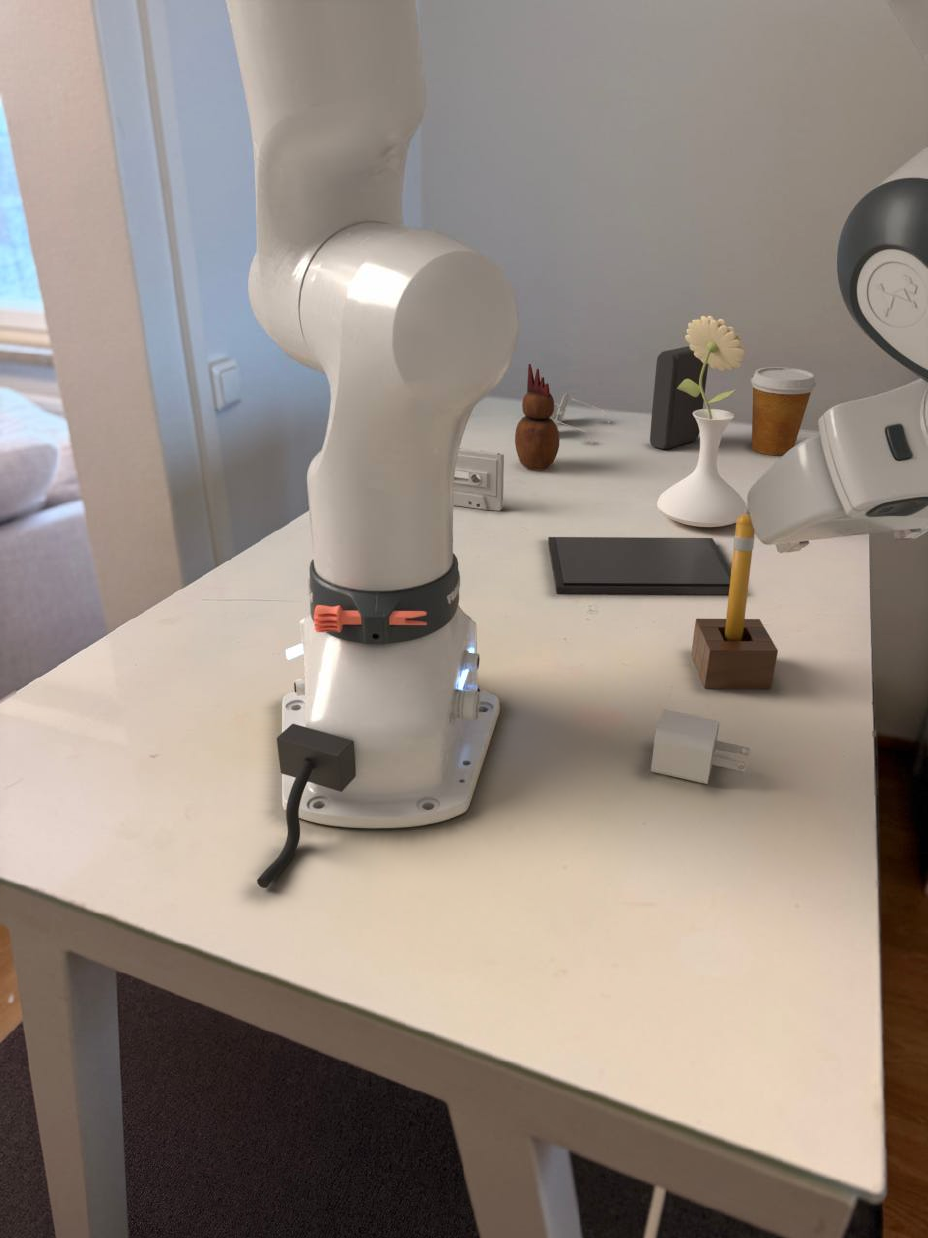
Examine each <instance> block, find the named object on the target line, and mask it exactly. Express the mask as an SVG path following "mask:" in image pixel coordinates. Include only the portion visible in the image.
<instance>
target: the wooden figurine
mask: <svg viewBox="0 0 928 1238" xmlns="http://www.w3.org/2000/svg"><path fill="white" fill-rule="evenodd" d="M521 405H522V406H521V407H522V409H521V410H522V413H523V415H524V416H522V417H521V419H520V420H519V421H518V422H517V425H516V428H515V433H514V441H515V442H514V443H515V444H514V445H515V450H516V454H517V457H518V460H519V462H520V464H521V465H522V466H523V467H524V468H527V469H529V470H533V471H541V470H542V471H543V470H546V469H549V468H550V467H551V466H552V465H553V464H554V461H555V460H556V458H557V455H558V452H559V449H560V440H561V439H560V432H559V428H558V426H557V424H556V422H555V421H553V420H552V419H550V417H551V416H552V414H553V412H554V405H555V399H554V396H552V394H551V391H550V384H549V383H548V382H546V383H545V377H544V376H542V377H541V375H540V368H536V370H535V376H534V371H533V368H532V363H528V367H527V385H526V393H525V395H524V396H523V399H522V403H521Z"/></svg>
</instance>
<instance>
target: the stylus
mask: <svg viewBox="0 0 928 1238" xmlns="http://www.w3.org/2000/svg"><path fill="white" fill-rule="evenodd" d="M754 544H755V531H754V528H753V525H752V522H751V518H750V514H749V513H746V514H745V515H742V516H740V517H739V518H738V519H737V522H736V523H735V532H734V536H733V544H732V545H733V546H732V547H733V549H732V550H733V551H732V559H731V568H730V570H731V578H730V588H729V595H728V598H727V607H726V608H727V609H726V617H725V619H726V626H725V636H724V641H742V638H743V629H744V620H745V619H746V611H747V603H748V602H747V601H748V592H749V585H750V576H751V567H752V557H753V550H754V546H755V545H754Z"/></svg>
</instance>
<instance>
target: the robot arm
mask: <svg viewBox="0 0 928 1238" xmlns="http://www.w3.org/2000/svg"><path fill="white" fill-rule="evenodd" d="M885 1H886V3H887V4H888V6H889V8H890V9H891V11H892V12H893V14H894V16H895V17H896V18H897V20H898V21H899V23H900V25H901V26H902V28H903V30H904V31H905V32H906V34H907V35H908V37H909V38H910V40H911V42H912V43H913V45H914V46H915V48H916V49H917V51H918V52H919V54H920V55H921V57H922V59H923V60H924V62H925V63H926V65H927V66H928V0H885ZM225 4H226V8H227V13H228V18H229V22H230V27H231V32H232V36H233V42H234V46H235V51H236V57H237V61H238V66H239V72H240V77H241V81H242V82H241V83H242V87H243V92H244V97H245V100H246V101H245V102H246V106H247V107H246V108H247V112H248V119H249V123H250V125H249V126H250V132H251V138H252V150H253V151H252V152H253V163H254V164H253V165H254V185H255V187H254V189H255V217H256V218H255V223H256V228H255V229H256V252H255V253H254V256H253V259H252V261H251V265H250V268H249V273H248V282H247V291H248V299H249V303H250V307H251V310H252V313H253V315H254V317H255V319H256V321H257V323H258V325H259V326H260V327H261V328H262V330H263V331H264V332H265V334H266V335H267V336H268V337H269V338H270V339H271V341H272V342H273V343H274V344H275V345H276V346H277V347H278V348H279V349H280V350H281V351H282V352H283V353H284V354H285V355H286V356H288V357H289V358H290V359H292V360H293V361H294V362H295V363H297V364H299V365H302V366H304V367H305V368H309V369H310V370H313V371H315V372H317V373H320V374H322V375H325V376H326V378H327V381H328V384H329V390H330V404H329V412H328V420H327V425H326V432H325V436H324V440H323V441H324V442H323V444H322V448H321V450H320V451H319V452H318V453H317V454H316V455H315V456H314V457H313V458H312V460H311V461H310V464H309V466H308V469H307V473H306V487H307V498H308V510H309V522H310V523H309V524H310V532H311V533H310V534H311V545H312V546H311V547H312V556H313V558H312V559H311V561H310V564H309V577H308V583H307V584H308V597H309V613H308V614H307V615H305V616H304V617H303V619H301V620H300V621H299V627H300V628H299V629H300V637H301V643H299V644H297V645H295V646H292V647H289V648H287V649H285V655H286V659H287V660H292V659H294V658H297V657H299V656H300V655H302V656H303V664H304V678H296V679H295V682H294V683H293V690H292V691H290V692H289V693H287V694H285V695H284V696H283V698H282V700H281V733H280V735H278V736H277V737H276V744H277V745H276V746H277V754H278V761H279V770H280V774H281V806H282V809H283V811H285V819H286V826H287V836H286V839H285V843H284V846H283V848H282V850H281V851H280V853H279V855H278V857H277V858H276V859H275V860H274V861H273V862H271V864H270V865H269V866H268V867H267V868H266V869H265V870H264V871H263V872H262V873H261V874H260V876H259V877H258V878H257V880H256V883H257V885H259V887H260V888H263V889H267V888H269V886H270V885H271V884H272V882H273V881H274V880H275V879H276V878H277V877H278V876H279V875H280V874H281V873H282V872H283V871H284V870H285V869H286V868H287V866H288V865H289V864H290V863H291V861H292V859H293V858H294V856H295V854H296V851H297V849H298V846H299V843H300V838H301V823H300V819H301V820H304V821H307V822H310V823H315V824H319V825H325V826H331V827H341V828H349V829H351V828H353V829H354V828H355V829H401V828H413V827H420V826H427V825H432V824H437V823H441V822H444V821H447V820H451V819H453V818H456V817H458V816H460V815H463V814H464V813H466V812H467V811H468V809H469V807H470V804H471V802H472V799H473V795H474V794H475V790H476V787H477V783H478V780H479V777H480V774H481V772H482V771H481V770H482V768H483V765H484V763H485V758H486V756H487V752H488V749H489V746H490V743H491V740H492V736H493V734H494V730H495V727H496V724H497V721H498V719H499V715H500V712H501V707H500V700H499V698H498V696H497V695H495V694H493V693H492V692H490V691H488V690H485V689H482V688H480V685H479V684H478V683H479V681H478V679H479V678H478V670H479V667H480V659H481V658H480V653H478V634H477V633H478V632H477V629H478V628H477V622H476V621H475V620H473V619H472V617H470V616H469V615H468V614H467V613H466V612H465V611H464V610H463V609H462V608H461V607H460V605H459V604H460V588H461V575H460V570H459V561H458V557H457V555H456V554H455V553H454V505H453V496H454V477H455V474H456V471H455V467H456V461H457V456H458V451H459V448H460V447H461V444H462V439H463V436H464V433H465V431H466V427H467V424H468V421H469V419H470V417H471V415H472V412H473V410H474V409H475V407H476V406H477V404H478V403H479V402H480V401H481V400H482V399H484V398H486V397H487V396H488V395H489V394H490V393H491V392H492V391H493V390H494V389H495V388H496V387H497V386H498V384H500V382H501V381H502V380H503V378H504V376H505V375H506V373H507V372H508V369H509V367H510V365H511V364H512V361H513V358H514V355H515V352H516V349H517V345H518V340H519V333H520V312H519V306H518V300H517V298H516V297H517V296H516V293H515V291H514V289H513V286H512V284H511V281H510V280H509V278H508V277H507V275H506V274H505V272H504V271H503V270H502V269H501V268H500V267H499V266H498V265H497V264H496V263H495V262H494V261H493V260H492V259H490V258H488V257H487V256H486V255H484V254H482V253H481V252H480V251H477V249H474V248H473V247H471V246H469V245H467V244H466V243H463V242H462V241H460V240H458V239H457V238H454V237H453V236H450V235H448V234H446V233H445V232H444V233H443V232H441V231H438V230H432V229H427V228H419V227H412V226H405V224H404V223H405V222H404V218H403V205H402V204H403V188H404V178H405V170H406V162H407V157H408V153H409V149H410V145H411V143H412V140H413V138H414V136H415V134H416V132H417V131H418V129H419V127H420V125H421V124H422V122H423V119H424V117H425V112H426V107H427V88H426V87H427V86H426V78H425V70H424V62H423V55H422V54H423V53H422V44H421V34H420V28H419V27H420V26H419V19H418V10H417V0H225ZM836 271H837V272H836V273H837V282H838V287H839V291H840V294H841V298H842V299H843V302H844V304H845V307H846V309H847V311H848V313H849V314H850V316H851V318H852V319H853V321H854V322H855V324H856V325H857V326H858V327H859V329H861V331H862V332H863V333H864V334H865V335H866V336H867V337H868V338H869V339H870V340H871V341H872V342H873V343H875V344H876V345H877V346H878V347H879V348H880V349H881V350H882V351H883V352H885V353H886V354H887V355H888V356H890V357H891V358H892V359H893V360H895V361H896V362H898V364H901V365H902V366H903V367H904V368H905V369H907V370H908V371H910V372H911V373H913V374H914V375H915V376H917V377H918V379H916V380H913V381H910V382H909V383H907V384H904V385H902V386H899V387H896V388H893V389H890V390H887V391H882V392H880V393H875V394H872V395H869V396H864V397H861V398H856V399H853V400H849V401H844V402H840V403H838V404H836V405H833V406H831V407H829V408H828V409H827V410H826V411H825V412H824V413H822V415H821V416H820V417H819V419H818V420H817V426H818V431H819V433H817V434H814V435H812V436H810V437H807V438H806V439H804V440H802V441H800V442H799V443H797V444H795V445H794V447H793V448H791V449H790V450H789V451H788V452H787V453H785V454H784V455H781V457H780V458H779V459H777V460H776V461H775V462H774V463H773V464H772V465H771V466H770V467H769V468H768V469H767V470H766V471H765V472H764V473H763V474H762V475H761V476H760V477H759V478H758V479H757V481H755V482H754V484H753V485H752V486H751V487H750V489H749V491H748V492H747V495H746V496H747V497H746V501H747V504H746V505H747V511H748V515H750V518H751V522H752V525H753V528H754V531H755V532H754V534H755V535H756V537H757V539H758V540H759V541H760V542H761V543H762V544H763V545H766V546H775V547H776V551H777V552H778V553H779V554H787V553H794V552H800V551H802V549H803V548H806V547H808V545H810V541H817V540H818V541H819V540H828V539H836V538H844V537H845V538H846V537H853V536H854V537H855V536H864V535H873V534H881V533H882V534H883V533H892V534H893V537H894V539H895V540H897V541H901V540H912V539H917V538H919V537H921V536H923V535H924V534H926V533H927V532H928V146H926V147H924V148H923V149H922V150H920V151H919V152H918V153H917V154H915V155H913V157H912V158H911V159H908V161H907V162H905V163H904V164H903V165H901V166H900V167H898V168H897V169H896V170H895V171H894V172H892V173H891V174H890V175H888V177H886V178H885V179H884V180H882V182H880V184H878V185H877V186H876V187H874V188H873V189H872V190H870V191H869V192H868V193H866V194H865V195H864V196H863V197H862V198H861V199H860V200H859V201H858V202H857V203H856V204H855V205H854V207H853V208H852V210H850V212H849V215H848V216H847V218H846V220H845V222H844V224H843V226H842V230H841V231H840V236H839V240H838V246H837V254H836Z"/></svg>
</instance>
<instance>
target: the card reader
mask: <svg viewBox="0 0 928 1238" xmlns="http://www.w3.org/2000/svg"><path fill="white" fill-rule="evenodd" d="M689 346H690V345H687V346H683V347H677V348H673V349H669V350H663V351H661V352H660V353H659V354H658V355H657V359H656V365H655V373H654V374H655V376H654V387H653V396H652V406H651V407H652V408H651V418H650V419H651V420H650V432H649V442H650V445H651V447H654V448H658V449H662V450H669V449H672V448H676V447H679V446H682V445H685V444H688V443H692V442H695V441H696V440H697V439H698V437H700V431H699V426H698V423H697V421H696V419H695V417H694V416H693V412H694V411H696V410H700V409H704V404H705V402H704V399H703V397H702V394H701V392H700V394H699V395H698V396H697V397H693V396H692V395H690V394H688V393H686V392H684V391H682V390H679V389H677V388H678V386H679V385H680V384H681V383H682V382H683V381H684V380H685V379H690V380H692V381H693V382H695V383H696V384H697V385H699V378H700V374H701V370H702V367H703V364H704V363H702V361H701V360H700V359H699V358H697V357H696V356H695V355H694V351H692V350H691V349H690V347H689ZM708 369H709V363H708V364H706V367H705V370H704V373H703V377H702V387H703V391H704V394H705V392H706V386H707V380H708V379H707V378H708ZM705 395H706V394H705Z"/></svg>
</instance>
